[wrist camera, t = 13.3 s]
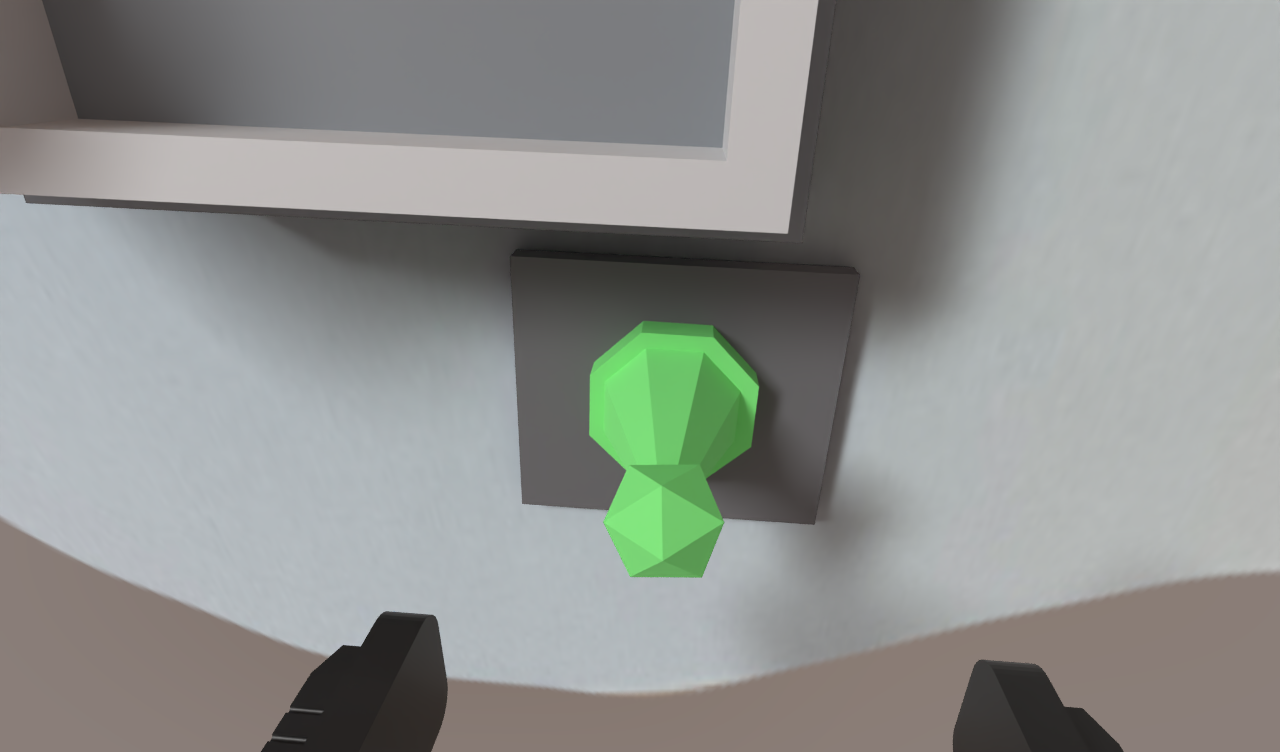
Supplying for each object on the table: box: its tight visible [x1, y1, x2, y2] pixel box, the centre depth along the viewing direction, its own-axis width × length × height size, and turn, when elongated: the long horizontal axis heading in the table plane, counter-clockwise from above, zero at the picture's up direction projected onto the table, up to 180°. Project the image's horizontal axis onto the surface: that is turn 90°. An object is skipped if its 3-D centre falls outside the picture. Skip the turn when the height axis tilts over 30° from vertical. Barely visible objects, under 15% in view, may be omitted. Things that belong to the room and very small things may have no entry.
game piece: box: [589, 321, 759, 577], centre depth 14 cm, size 4×4×6 cm
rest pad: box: [510, 250, 860, 525], centre depth 17 cm, size 8×7×1 cm
